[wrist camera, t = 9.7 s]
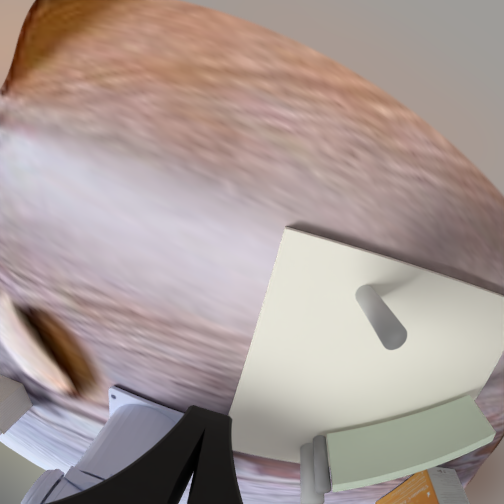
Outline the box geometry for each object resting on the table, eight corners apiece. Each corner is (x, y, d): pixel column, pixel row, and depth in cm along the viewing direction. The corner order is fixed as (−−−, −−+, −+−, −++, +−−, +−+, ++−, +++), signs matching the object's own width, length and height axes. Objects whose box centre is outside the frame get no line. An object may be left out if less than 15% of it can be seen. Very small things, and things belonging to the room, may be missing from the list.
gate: (313, 444, 19) (315, 494, 14) (312, 436, 19) (315, 487, 14) (466, 403, 17) (492, 441, 12) (469, 394, 17) (496, 432, 12)
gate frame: (419, 461, 21) (436, 508, 14) (220, 438, 21) (204, 497, 15) (517, 300, 16) (566, 331, 10) (285, 226, 17) (285, 248, 11)
